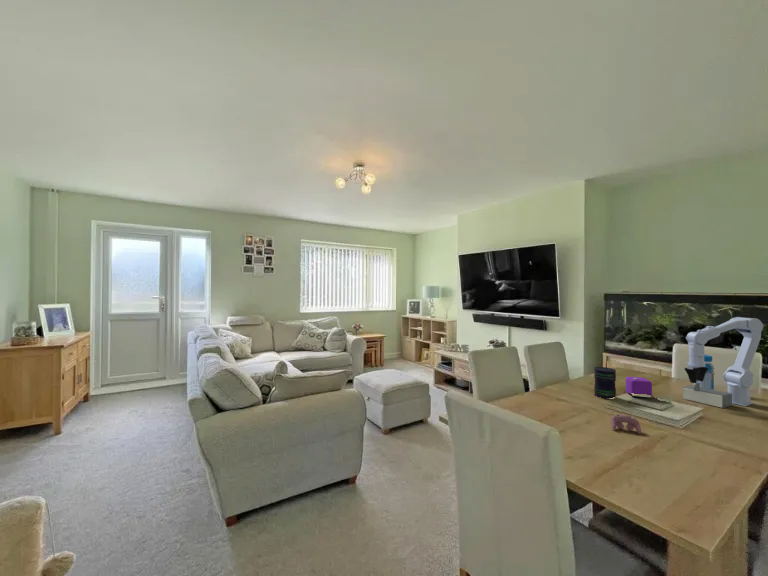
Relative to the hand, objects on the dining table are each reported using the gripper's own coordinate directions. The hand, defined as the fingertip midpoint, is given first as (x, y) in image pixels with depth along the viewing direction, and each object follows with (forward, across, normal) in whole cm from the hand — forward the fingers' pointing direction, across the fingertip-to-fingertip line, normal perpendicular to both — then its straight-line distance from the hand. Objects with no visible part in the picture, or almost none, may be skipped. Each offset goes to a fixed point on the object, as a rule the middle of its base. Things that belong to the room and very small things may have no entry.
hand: (696, 381), depth 170 cm
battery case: (+10, -6, +2) cm, 12 cm away
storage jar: (+11, +34, -26) cm, 44 cm away
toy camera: (+11, +15, -20) cm, 27 cm away
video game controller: (+11, +71, +3) cm, 72 cm away
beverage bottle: (+11, -31, -8) cm, 34 cm away
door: (+10, 0, +2) cm, 10 cm away
